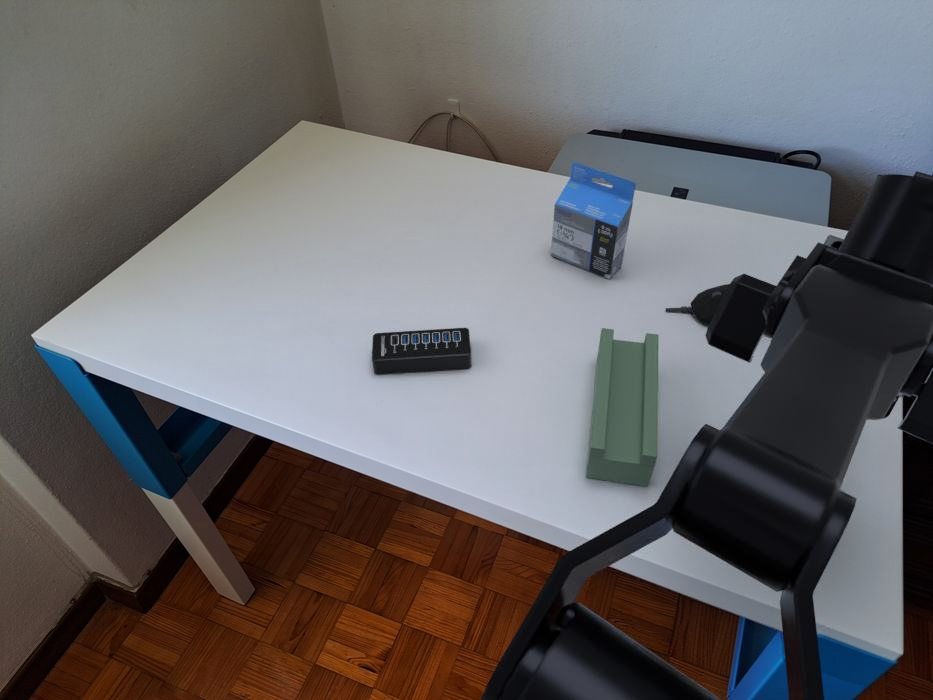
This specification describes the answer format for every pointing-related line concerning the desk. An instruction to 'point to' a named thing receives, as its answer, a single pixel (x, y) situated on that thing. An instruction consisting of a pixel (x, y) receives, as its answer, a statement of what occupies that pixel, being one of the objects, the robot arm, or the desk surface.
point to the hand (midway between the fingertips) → (837, 364)
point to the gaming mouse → (705, 304)
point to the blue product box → (592, 220)
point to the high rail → (624, 411)
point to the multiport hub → (421, 351)
